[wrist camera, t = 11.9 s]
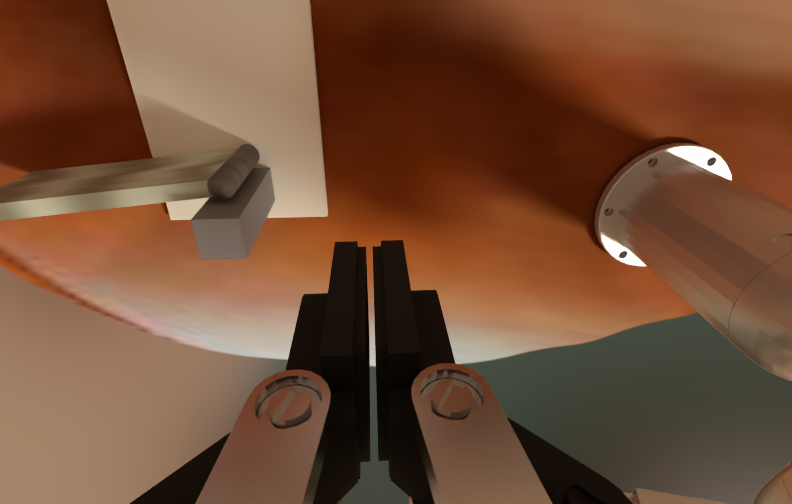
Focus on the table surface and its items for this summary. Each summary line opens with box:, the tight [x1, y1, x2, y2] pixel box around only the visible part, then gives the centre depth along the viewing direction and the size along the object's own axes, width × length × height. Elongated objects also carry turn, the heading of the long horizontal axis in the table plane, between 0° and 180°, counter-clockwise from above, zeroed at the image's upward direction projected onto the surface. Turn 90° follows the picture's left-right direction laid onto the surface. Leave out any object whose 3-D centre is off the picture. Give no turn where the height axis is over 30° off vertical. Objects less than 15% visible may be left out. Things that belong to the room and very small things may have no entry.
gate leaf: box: [0, 144, 260, 221], centre depth 31 cm, size 18×2×8 cm, turn 95°
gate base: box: [107, 0, 328, 260], centre depth 27 cm, size 26×14×11 cm, turn 0°
